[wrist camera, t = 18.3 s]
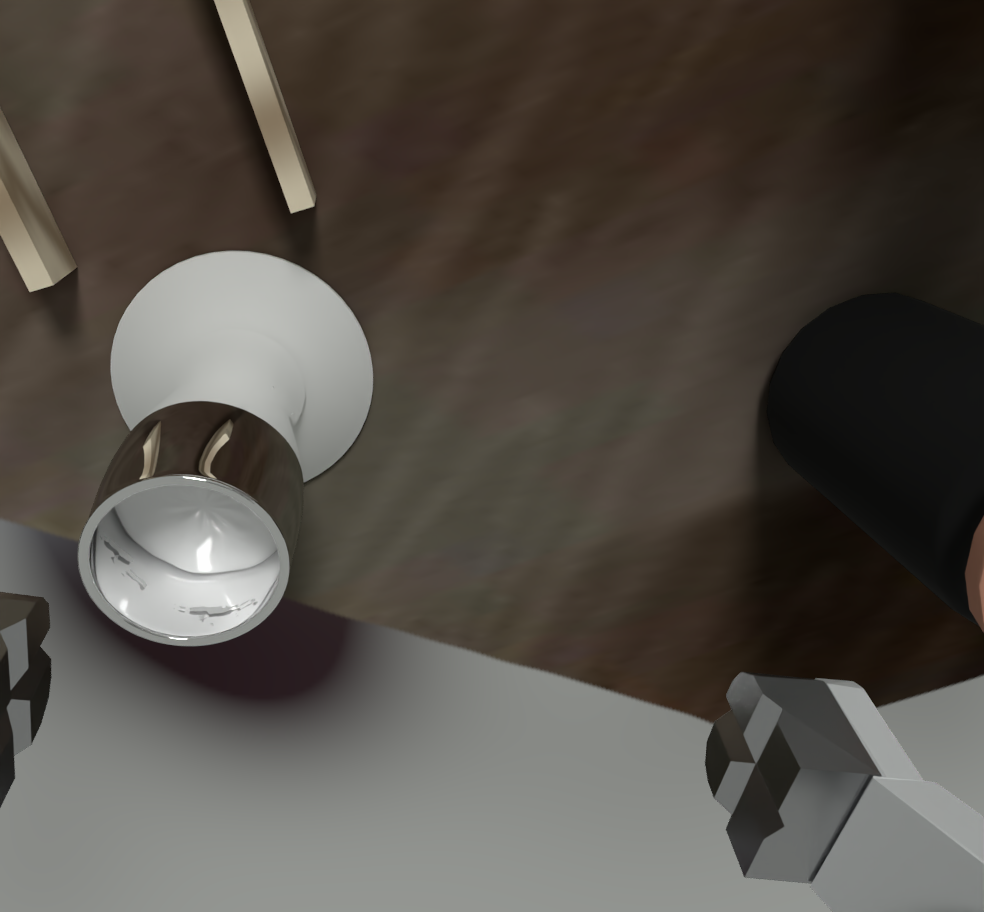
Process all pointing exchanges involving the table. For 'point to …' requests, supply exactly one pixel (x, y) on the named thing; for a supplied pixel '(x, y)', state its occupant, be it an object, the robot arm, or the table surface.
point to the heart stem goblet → (202, 498)
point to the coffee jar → (894, 432)
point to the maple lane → (26, 216)
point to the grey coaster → (257, 307)
